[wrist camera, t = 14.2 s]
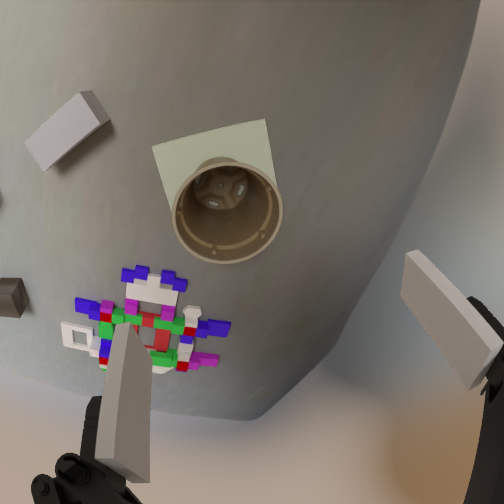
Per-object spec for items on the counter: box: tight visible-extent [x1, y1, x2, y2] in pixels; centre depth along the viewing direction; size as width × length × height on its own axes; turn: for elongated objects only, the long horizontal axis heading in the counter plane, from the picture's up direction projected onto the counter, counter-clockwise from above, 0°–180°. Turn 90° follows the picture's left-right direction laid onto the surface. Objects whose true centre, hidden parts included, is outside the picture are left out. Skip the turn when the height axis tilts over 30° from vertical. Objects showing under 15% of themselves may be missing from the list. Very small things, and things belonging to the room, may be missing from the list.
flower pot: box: [172, 157, 283, 264], centre depth 30 cm, size 9×9×9 cm
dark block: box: [0, 278, 29, 318], centre depth 34 cm, size 4×4×4 cm
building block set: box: [61, 265, 231, 374], centre depth 41 cm, size 25×20×4 cm
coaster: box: [152, 118, 277, 212], centre depth 34 cm, size 12×12×1 cm
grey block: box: [24, 90, 110, 172], centre depth 26 cm, size 4×8×4 cm, turn 118°
